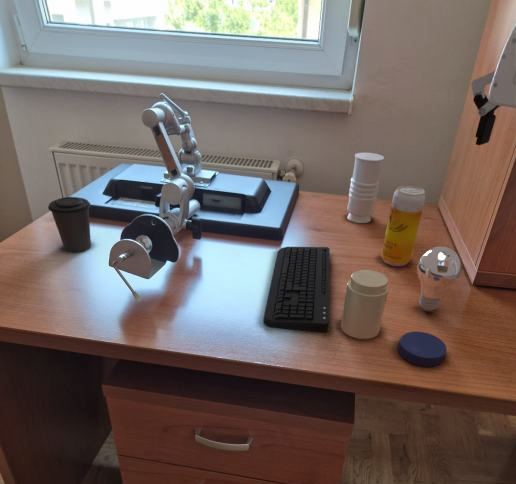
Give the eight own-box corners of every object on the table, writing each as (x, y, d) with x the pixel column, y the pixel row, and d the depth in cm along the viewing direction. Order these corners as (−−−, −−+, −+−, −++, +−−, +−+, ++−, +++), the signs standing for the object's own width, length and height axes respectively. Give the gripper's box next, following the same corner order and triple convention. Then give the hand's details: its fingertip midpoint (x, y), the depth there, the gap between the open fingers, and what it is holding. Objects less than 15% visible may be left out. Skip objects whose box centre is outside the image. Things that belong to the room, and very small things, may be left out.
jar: (387, 329, 79) (398, 279, 74) (363, 343, 76) (374, 292, 70) (356, 313, 83) (365, 264, 77) (332, 326, 79) (340, 276, 74)
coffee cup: (49, 246, 100) (38, 199, 94) (83, 235, 105) (74, 190, 99) (71, 258, 96) (60, 210, 90) (105, 246, 101) (97, 200, 95)
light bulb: (414, 296, 89) (430, 235, 81) (451, 308, 85) (471, 246, 78) (400, 312, 84) (416, 249, 77) (439, 325, 81) (459, 261, 74)
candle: (375, 216, 121) (386, 154, 112) (370, 225, 116) (381, 161, 107) (348, 211, 123) (357, 151, 114) (342, 220, 118) (351, 158, 109)
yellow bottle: (376, 254, 103) (390, 184, 94) (403, 254, 103) (419, 184, 94) (385, 267, 98) (401, 195, 89) (414, 267, 98) (432, 195, 90)
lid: (388, 350, 74) (390, 342, 73) (414, 334, 78) (416, 326, 77) (427, 373, 70) (430, 364, 69) (452, 355, 74) (455, 346, 73)
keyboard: (278, 250, 102) (278, 241, 101) (328, 255, 102) (329, 246, 100) (262, 326, 79) (262, 316, 77) (327, 332, 78) (329, 322, 77)
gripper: (479, 8, 64) (447, 142, 74) (625, 12, 54) (565, 167, 64) (503, 9, 68) (470, 136, 79) (642, 13, 58) (583, 157, 69)
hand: (512, 149), depth 71 cm, fingers open, 9 cm apart
